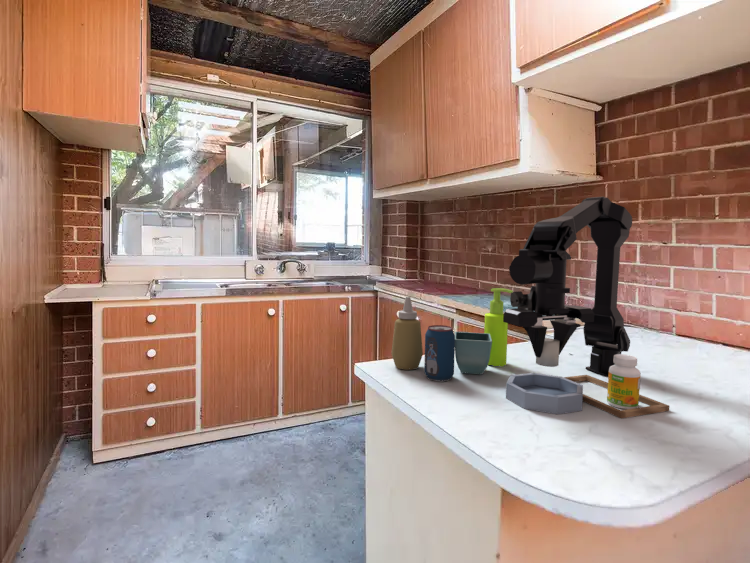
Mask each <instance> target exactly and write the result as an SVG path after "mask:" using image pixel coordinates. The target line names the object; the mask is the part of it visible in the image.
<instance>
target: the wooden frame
mask: <svg viewBox="0 0 750 563" xmlns="http://www.w3.org/2000/svg"><path fill="white" fill-rule="evenodd" d="M563 377H564V378H566V379H569V380H571V381H574V382H576V383H578V382H585V381H587V382H589V383H592V384H594V385H597V386H600V387H602V388H604V389H607V390H608V381H604V380H602V379H599V378H597V377H594V376H591V375H588V374H582V375H572V376H563ZM582 402H583V403H587V404H588V405H591V406H593V407H595V408H598V409H599V410H602V411H604V412H606V413H609V414H610V415H612V416H615V417H617V418H619V419H626V418H632V417H639V416H644V415H645V416H646V415H650V414H657V413H663V412H669V411H670V405H669V404H666V403H664V402H662V401H661V402H660V401H659V400H655V399H653V398H649V397H647V396H645V395H642V394H640V393H639V402H641V403H642V404H645V405H648V406H641V407H640V406H639V407H638V408H633V409H620V408H617V407H614V406H612V405H610V404H608V403H605V402H602V401H601V400H598V399H596V398H593V397H591V396H590V395H589V396H588V395H586V394H584V393H583V398H582Z"/></svg>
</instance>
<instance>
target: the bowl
mask: <svg viewBox="0 0 750 563" xmlns="http://www.w3.org/2000/svg"><path fill="white" fill-rule="evenodd" d="M564 377H565V376H558V375H553V374H551V375H550V374H545V373H537V372H528V373H520V374H510V376H509V378H508V379H507V381H506V383H505V384H506V385H505V386H506V387H505V388H506V389H505V399H506V400H509V401H510V402H512V403H514V404H516V405H517V406H519V407H520V408H522V409H525V410H530V411H535V412H542V413H548V414H553V415H562V414H567V413H575V412H582V411H583V401H582V398H583V394H584V390H583V389H584V384H581V383H578V382H574V381H571V380H569V379H566V378H564Z"/></svg>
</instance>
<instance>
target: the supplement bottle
mask: <svg viewBox="0 0 750 563" xmlns="http://www.w3.org/2000/svg"><path fill="white" fill-rule="evenodd" d="M613 361H614V363H615V365H612V366H610V368H609V375H608V376H607V377H608V378H607V379H608V380H607V383H608V389H607V394H606V402H607V404H608V405H610V406H612V407H614V408H617V409H620V410H627V409H633V408H639V402H640V401H639V394H640V389H641V388H640V387H641V376H642V375H641V371H640V370H639V369H638V368H637V366H638V358H637V356H634V355H631V354H629V355H628V354H622V353H621V354H616V355H614V359H613Z"/></svg>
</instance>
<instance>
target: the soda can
mask: <svg viewBox="0 0 750 563" xmlns="http://www.w3.org/2000/svg"><path fill="white" fill-rule="evenodd" d="M423 363H424V367H423V369H424V374H425V376H426V378H427V379H429V380H430V381H434V382H448V381H450V380H451V379H452V378H453V376H454V374H455V331H453V327H452V326H450V325H445V324H443V325H442V324H439V325H438V324H434V325H428V326H427V330H426V331H425V334H424V362H423Z"/></svg>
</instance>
